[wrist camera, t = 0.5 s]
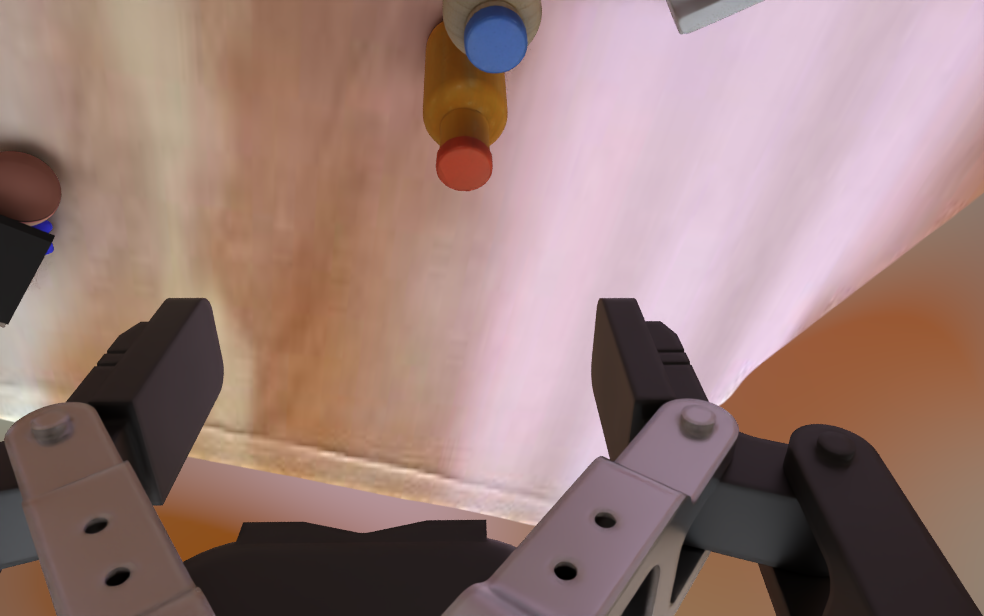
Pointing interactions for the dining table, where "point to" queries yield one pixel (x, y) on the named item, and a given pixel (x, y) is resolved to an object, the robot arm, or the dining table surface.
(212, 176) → the dining table surface
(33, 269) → the figurine character
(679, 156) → the dining table surface
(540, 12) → the toy food
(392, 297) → the dining table surface
